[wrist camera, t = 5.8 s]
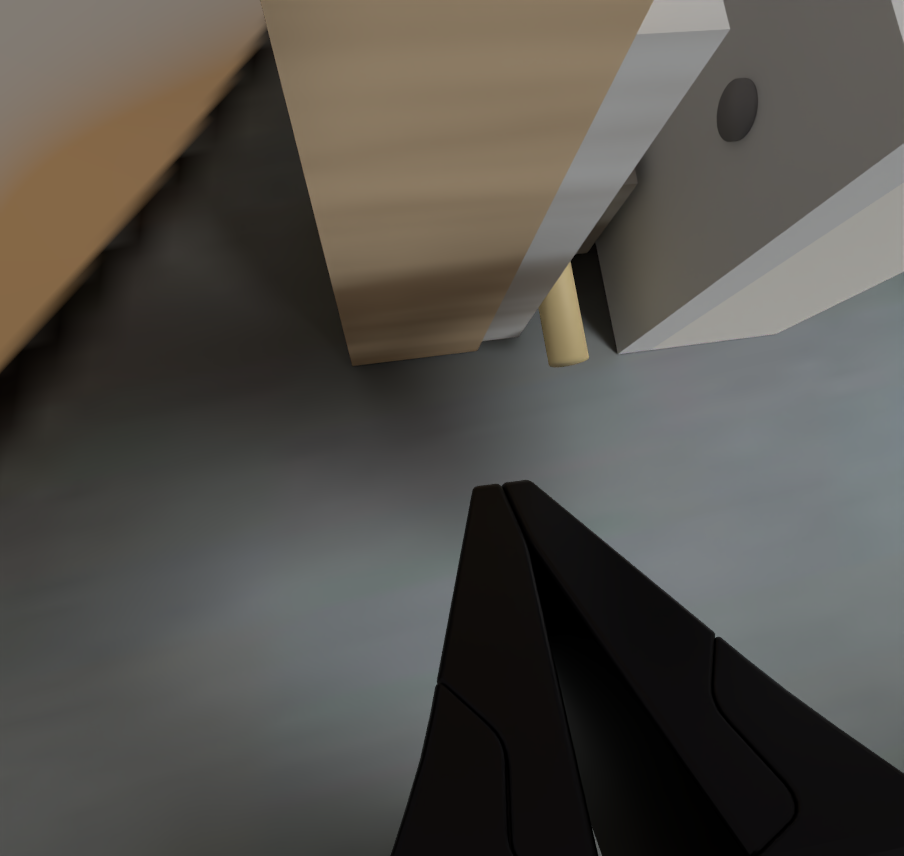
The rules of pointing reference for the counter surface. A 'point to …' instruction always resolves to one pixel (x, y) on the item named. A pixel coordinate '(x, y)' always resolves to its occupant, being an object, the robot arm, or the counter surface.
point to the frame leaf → (759, 185)
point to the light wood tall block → (472, 147)
